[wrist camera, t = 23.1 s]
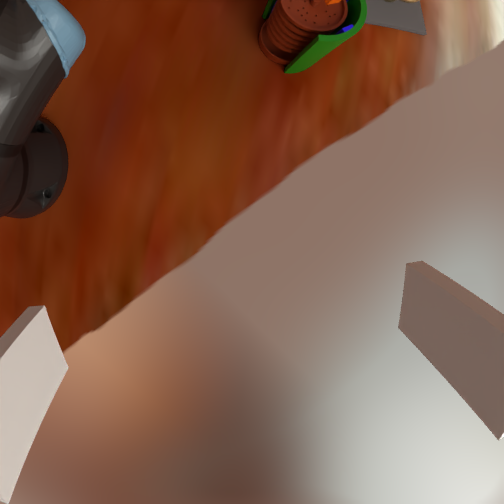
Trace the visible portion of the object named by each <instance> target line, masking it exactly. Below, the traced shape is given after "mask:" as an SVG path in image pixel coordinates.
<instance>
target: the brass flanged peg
mask: <svg viewBox="0 0 504 504" xmlns="http://www.w3.org/2000/svg"><path fill="white" fill-rule="evenodd" d="M384 1H386V2H394V1H396V0H384ZM400 1H402V2H405V3H415V2H417V1H419V0H400Z"/></svg>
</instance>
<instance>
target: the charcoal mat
mask: <svg viewBox="0 0 504 504" xmlns="http://www.w3.org/2000/svg"><path fill="white" fill-rule="evenodd" d="M366 4H367V16H366V20H365V23H367V24H373V25H379V26H384V27H389V28H394V29H399V30H404V31H408V32H412V33H417V34H421V35H426V29H425V24H424V19H423V14H422V10H421V5H420V1H417V2H415V3H405V2H402V1H400V0H396V1H394V2H386V1H384V0H366Z"/></svg>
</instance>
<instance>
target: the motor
mask: <svg viewBox="0 0 504 504" xmlns="http://www.w3.org/2000/svg"><path fill="white" fill-rule="evenodd" d="M366 16H367V4H366V0H269V1H268V3H267V5H266V8H265V10H264V13H263V15H262V17H263V18H264V19H267V18H268V19H267V20H266V21H265V22H264V24H263V26H262V28H261V30H260V33H259V38H258V41H259V46H260V48H261V50H262V52H263V53H264V54H265V56H266V57H268V58H269V59H270V60H272V61H273V62H276V63H278V64H282V65H288V66H287V67H286V68H285V70H284V73H297V72H301V71H303V70H306V69H307V68H309V67H310V66H312V65H313V64H314V63H316V62H317V61H318V60H320V59H321V58H322V57H324V56H325V55H326V54H328V53H329V52H330V51H332V50H333V49H335V48H336V47H337V46H339V45H340V44H342V43H343V42H344V41H346V40H347V39H349V38H350V37H351V36H353V35H354V34H356V33H357V32H358V31H359V30H360V29H361V28H362V26H363V25H364V23H365V20H366Z"/></svg>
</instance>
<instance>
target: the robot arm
mask: <svg viewBox="0 0 504 504" xmlns="http://www.w3.org/2000/svg"><path fill="white" fill-rule="evenodd" d="M85 39H86V37H85V34H84V31H83V29H82V27H81V26H80V24H79V23H78V22H77V20H76V19H75V18H74V17H73V16H72V15H71V13H70V12H69V11H68V10H67V9H66V8H65V7H64V6H63V5H61V4H60V3H59V2H58V1H57V0H0V217H2V216H7V217H13V218H21V219H22V218H29V217H33V216H35V215H37V214H40V213H42V212H44V211H45V210H47V209H48V208H49V207H51V206H52V205H53V203H54V202H55V201H56V200H57V198H58V197H59V195H60V194H61V192H62V189H63V187H64V184H65V181H66V177H67V172H68V154H67V149H66V145H65V142H64V139H63V137H62V135H61V133H60V132H59V130H58V129H57V128H56V127H55V126H54V125H53V124H52V123H51V122H49V121H48V120H46V119H44V118H41V117H40V115H41V113H42V111H43V110H44V108H45V107H46V105H47V103H48V102H49V100H50V98H51V97H52V95H53V94H54V92H55V91H56V89H57V88H58V86H59V85H60V83H61V82H62V80H63V79H64V78H66V77H67V76H68V74H69V70H70V68H71V67H72V65H73V64H74V62H75V61H76V59H77V58H78V56H79V55H80V54H81V52H82V51H83V49H84V46H85V41H86V40H85ZM398 328H399V329H400V330H401V331H402V332H403V333H404V334H405V335H406V337H408V339H409V340H410V341H411V342H412V343H413V344H414V345H415V346H416V347H417V348H418V349H419V350H420V351H421V353H422V354H423V355H424V356H425V357H426V358H427V359H428V360H429V361H430V362H431V363H432V365H433V366H434V367H435V368H436V369H437V370H438V371H439V372H440V373H441V374H442V376H443V377H444V378H445V379H446V380H447V381H448V382H449V383H450V384H451V386H452V387H453V388H454V389H455V390H456V391H457V392H458V393H459V395H460V396H461V397H462V398H463V399H464V400H465V401H466V403H467V404H468V405H469V406H470V407H471V408H472V410H473V411H474V412H475V413H476V414H477V415H478V417H479V418H480V419H481V420H482V421H483V422H484V423H485V425H486V426H487V427H488V428H489V430H490V431H491V432H492V433H493V434H494V435H495V437H496V438H497V439H498V440H500V439H502V438H503V437H504V314H502V313H501V312H499V311H498V310H496V309H495V308H493V307H492V306H491V305H489V304H488V303H486V302H485V301H483V300H482V299H480V298H479V297H477V296H476V295H474V294H473V293H472V292H470V291H469V290H467V289H466V288H464V287H462V286H461V285H459V284H458V283H456V282H455V281H453V280H452V279H450V278H449V277H447V276H446V275H444V274H442V273H441V272H439V271H438V270H436V269H435V268H433V267H431V266H430V265H428V264H427V263H425V262H423V261H418V262H413V263H407V264H406V271H405V281H404V290H403V298H402V306H401V314H400V320H399V326H398ZM67 370H68V365H67V363H66V361H65V358H64V356H63V354H62V351H61V349H60V346H59V344H58V341H57V339H56V336H55V333H54V331H53V328H52V325H51V323H50V320H49V317H48V314H47V311H46V308H45V306H32V307H28V308H27V309H26V310H25V311H24V313H23V314H22V315H21V316H20V317H19V318H18V319H17V320H16V321H15V322H14V323H13V324H12V326H11V327H10V328H9V329H8V330H7V331H6V332H5V333H4V335H3V336H2V337H1V338H0V501H1V502H4V503H7V504H9V501H10V499H11V496H12V493H13V490H14V487H15V485H16V482H17V479H18V477H19V474H20V471H21V469H22V467H23V464H24V462H25V459H26V457H27V454H28V452H29V450H30V447H31V445H32V443H33V440H34V438H35V436H36V433H37V431H38V429H39V427H40V425H41V422H42V420H43V418H44V416H45V414H46V412H47V409H48V407H49V405H50V403H51V401H52V399H53V397H54V395H55V393H56V391H57V389H58V387H59V385H60V383H61V381H62V379H63V377H64V375H65V373H66V371H67Z"/></svg>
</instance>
